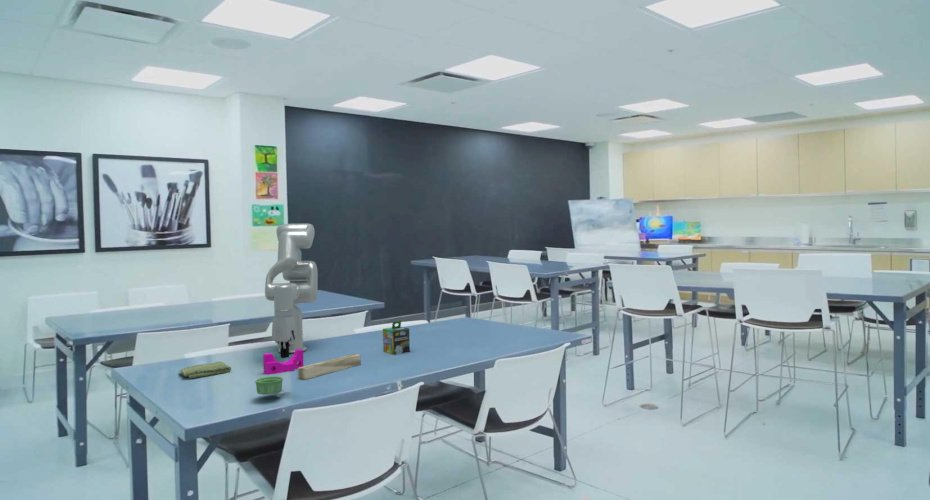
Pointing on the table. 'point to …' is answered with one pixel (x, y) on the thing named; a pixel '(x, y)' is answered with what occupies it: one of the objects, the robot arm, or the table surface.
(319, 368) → the board
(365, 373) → the table surface
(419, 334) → the table surface
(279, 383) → the ramekin
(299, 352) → the toy block
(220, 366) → the washcloth
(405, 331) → the chalk box
